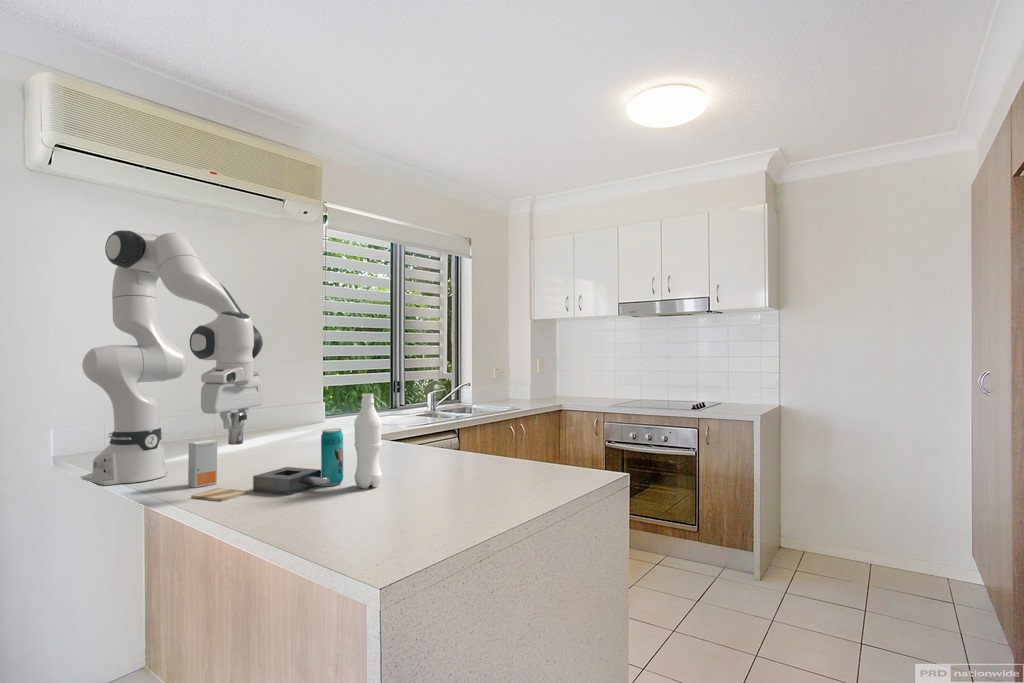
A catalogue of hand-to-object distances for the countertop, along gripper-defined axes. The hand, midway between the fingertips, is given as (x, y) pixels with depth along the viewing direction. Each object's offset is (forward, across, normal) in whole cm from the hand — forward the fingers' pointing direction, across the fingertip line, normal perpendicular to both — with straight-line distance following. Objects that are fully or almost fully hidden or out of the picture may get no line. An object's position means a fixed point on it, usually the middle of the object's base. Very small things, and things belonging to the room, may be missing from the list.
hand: (234, 426), depth 144 cm
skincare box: (+18, -7, -14) cm, 24 cm away
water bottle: (+17, -11, +32) cm, 38 cm away
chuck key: (+4, 0, 0) cm, 4 cm away
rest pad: (+17, +3, -2) cm, 18 cm away
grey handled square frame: (+17, -6, +15) cm, 23 cm away
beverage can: (+17, -12, +21) cm, 30 cm away
